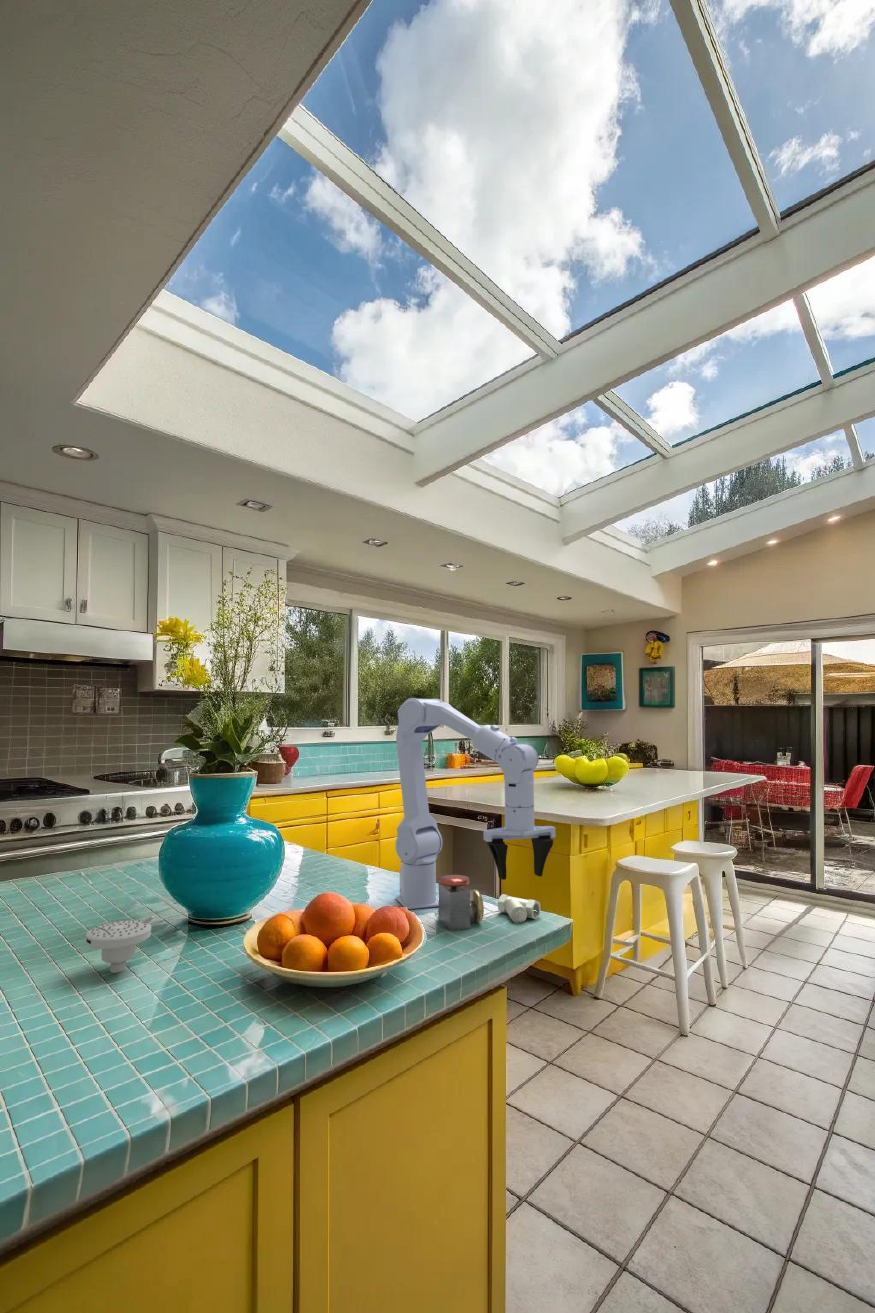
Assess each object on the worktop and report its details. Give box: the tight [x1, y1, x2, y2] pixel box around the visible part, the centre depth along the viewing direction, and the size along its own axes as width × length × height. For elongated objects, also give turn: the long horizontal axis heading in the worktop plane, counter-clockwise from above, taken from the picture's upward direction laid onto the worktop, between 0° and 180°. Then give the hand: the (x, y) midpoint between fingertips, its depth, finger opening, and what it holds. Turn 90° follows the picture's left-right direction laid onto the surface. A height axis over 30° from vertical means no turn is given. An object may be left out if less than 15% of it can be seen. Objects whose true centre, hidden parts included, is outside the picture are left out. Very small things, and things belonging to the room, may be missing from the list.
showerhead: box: [85, 916, 153, 974], centre depth 106 cm, size 9×7×10 cm
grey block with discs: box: [438, 874, 485, 931], centre depth 129 cm, size 7×8×9 cm
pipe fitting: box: [497, 893, 542, 924], centre depth 132 cm, size 8×4×7 cm
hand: (520, 876), depth 128 cm, fingers open, 7 cm apart
